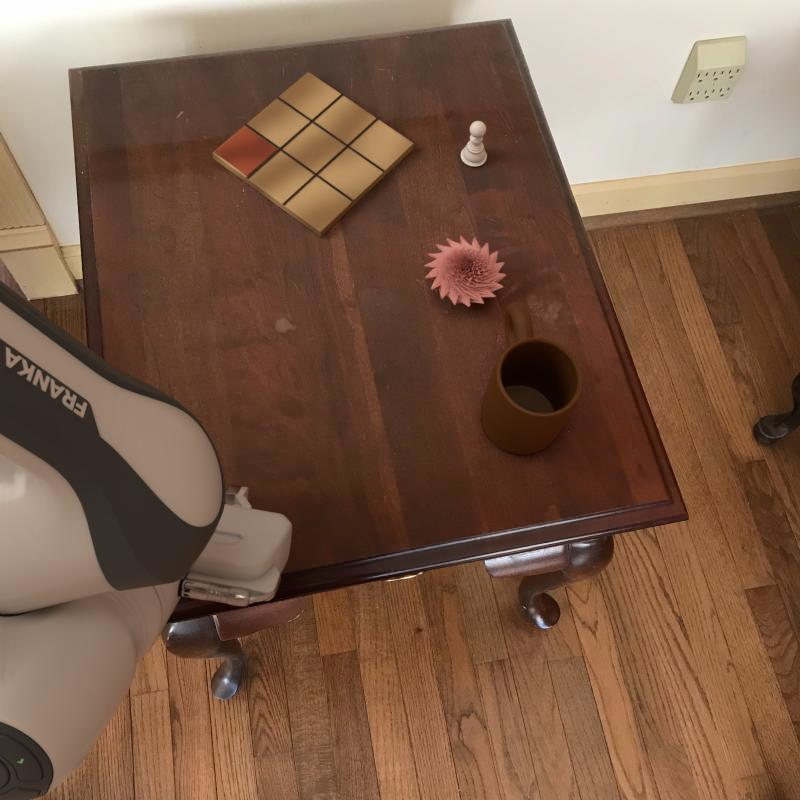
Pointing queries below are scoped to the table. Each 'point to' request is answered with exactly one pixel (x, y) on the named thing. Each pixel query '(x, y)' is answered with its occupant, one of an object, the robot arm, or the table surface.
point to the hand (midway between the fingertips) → (181, 483)
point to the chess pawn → (475, 146)
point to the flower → (465, 272)
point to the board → (313, 153)
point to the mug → (529, 388)
